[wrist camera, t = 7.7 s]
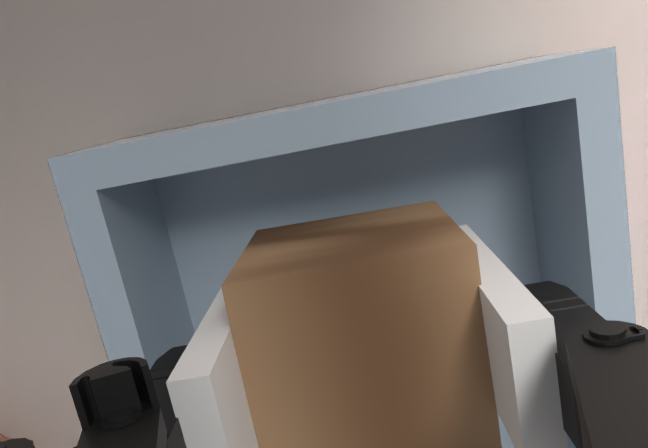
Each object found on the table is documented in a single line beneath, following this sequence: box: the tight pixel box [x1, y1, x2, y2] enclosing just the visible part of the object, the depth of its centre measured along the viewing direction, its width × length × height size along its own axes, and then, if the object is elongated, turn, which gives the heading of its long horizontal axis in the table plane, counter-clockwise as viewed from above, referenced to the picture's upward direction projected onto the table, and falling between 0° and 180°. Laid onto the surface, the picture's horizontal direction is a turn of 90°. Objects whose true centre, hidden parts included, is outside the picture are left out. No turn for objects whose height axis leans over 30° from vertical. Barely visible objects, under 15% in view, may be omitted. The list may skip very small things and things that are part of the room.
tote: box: [47, 47, 636, 448], centre depth 19 cm, size 18×14×5 cm
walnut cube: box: [221, 201, 502, 448], centre depth 14 cm, size 5×5×5 cm
